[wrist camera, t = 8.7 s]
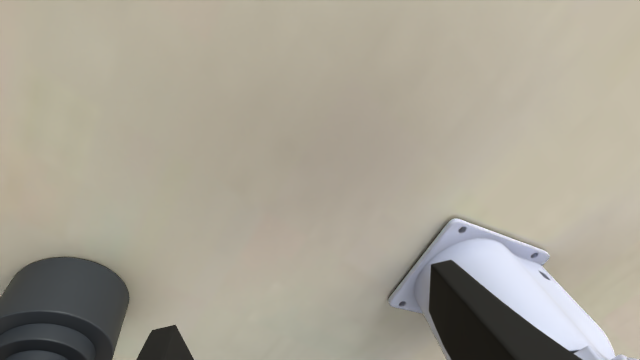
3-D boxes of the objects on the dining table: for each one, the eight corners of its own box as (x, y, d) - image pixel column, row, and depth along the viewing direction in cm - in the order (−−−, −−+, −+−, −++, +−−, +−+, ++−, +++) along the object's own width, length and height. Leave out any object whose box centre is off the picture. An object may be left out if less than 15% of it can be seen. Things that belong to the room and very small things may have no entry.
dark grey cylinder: (141, 270, 22) (110, 378, 16) (115, 337, 24) (81, 450, 19) (18, 245, 20) (-65, 361, 14) (3, 321, 22) (-73, 446, 17)
